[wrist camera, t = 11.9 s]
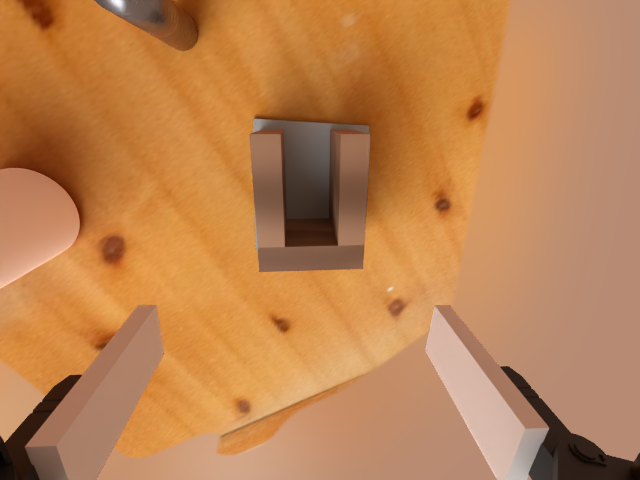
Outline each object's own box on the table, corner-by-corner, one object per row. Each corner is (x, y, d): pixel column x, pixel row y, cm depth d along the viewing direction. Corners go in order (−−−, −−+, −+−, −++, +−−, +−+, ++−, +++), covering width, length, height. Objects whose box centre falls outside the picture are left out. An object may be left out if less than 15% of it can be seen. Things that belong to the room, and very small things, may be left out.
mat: (254, 118, 27) (253, 118, 27) (368, 125, 28) (369, 125, 28) (255, 248, 32) (255, 249, 31) (355, 250, 33) (356, 252, 32)
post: (161, 9, 24) (77, -57, 15) (196, 12, 24) (136, -51, 15) (164, 49, 25) (89, 9, 16) (199, 51, 25) (144, 14, 16)
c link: (348, 237, 32) (362, 268, 25) (266, 239, 31) (259, 271, 24) (352, 129, 28) (370, 134, 21) (260, 129, 27) (249, 134, 21)
